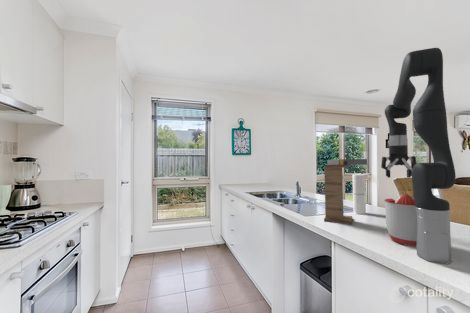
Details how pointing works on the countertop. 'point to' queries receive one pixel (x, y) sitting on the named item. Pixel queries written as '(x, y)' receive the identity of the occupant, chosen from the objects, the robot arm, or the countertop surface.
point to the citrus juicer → (401, 220)
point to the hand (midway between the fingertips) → (398, 177)
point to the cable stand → (335, 194)
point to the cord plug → (349, 162)
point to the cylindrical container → (359, 194)
